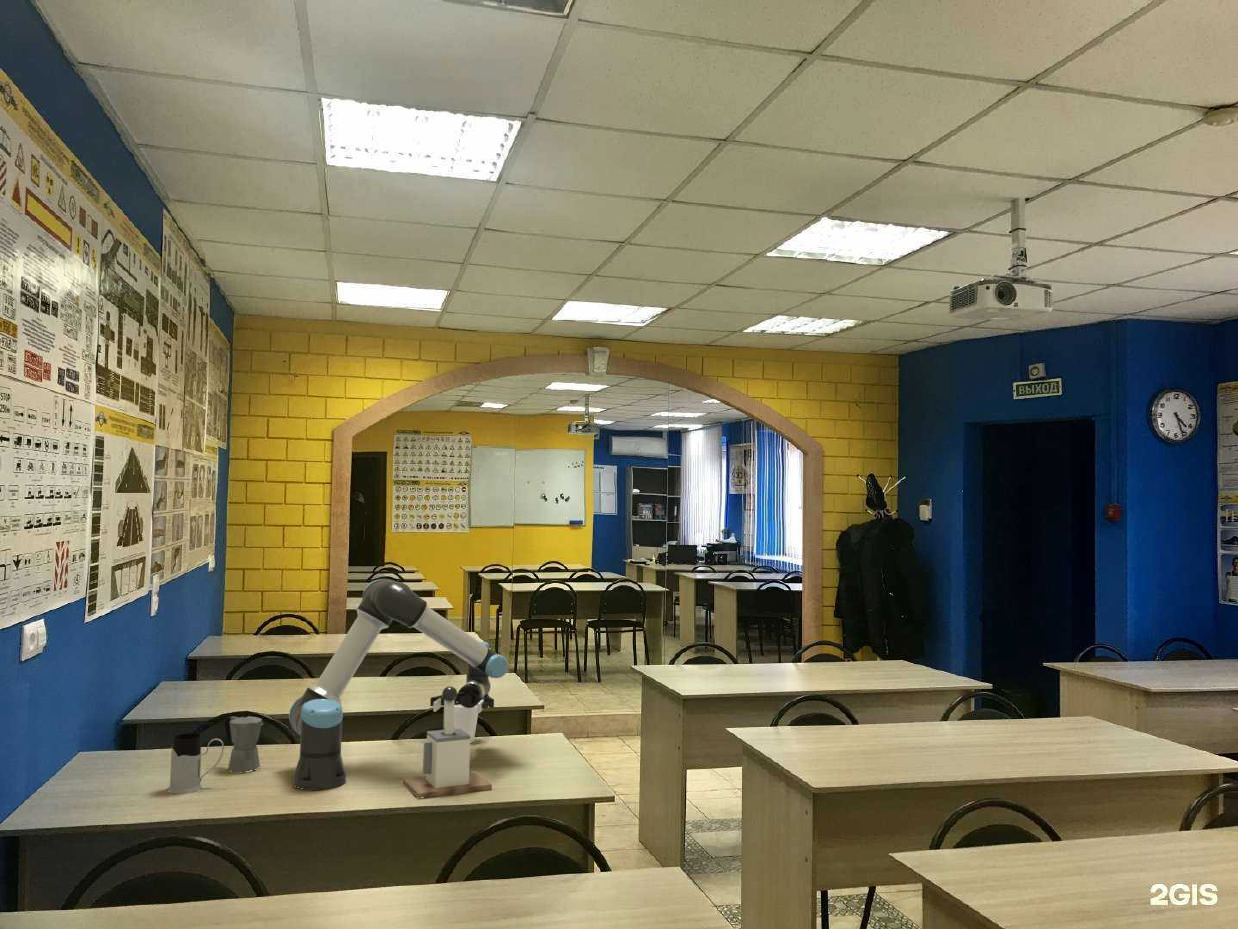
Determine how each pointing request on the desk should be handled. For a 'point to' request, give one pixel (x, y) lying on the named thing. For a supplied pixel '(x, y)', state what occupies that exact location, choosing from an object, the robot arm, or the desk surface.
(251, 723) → the coffeepot
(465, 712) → the foam cup
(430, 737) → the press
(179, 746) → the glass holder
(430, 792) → the board
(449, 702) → the plunger
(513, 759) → the desk surface
